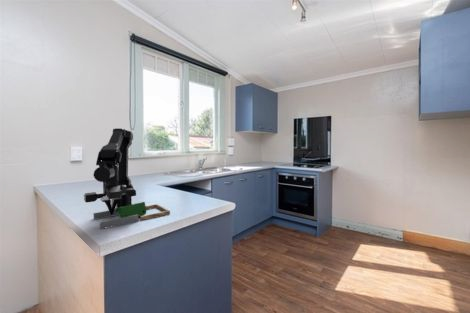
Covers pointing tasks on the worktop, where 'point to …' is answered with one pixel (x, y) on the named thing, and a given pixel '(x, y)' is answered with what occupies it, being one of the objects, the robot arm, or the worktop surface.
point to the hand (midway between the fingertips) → (111, 214)
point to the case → (114, 221)
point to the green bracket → (132, 210)
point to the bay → (165, 212)
